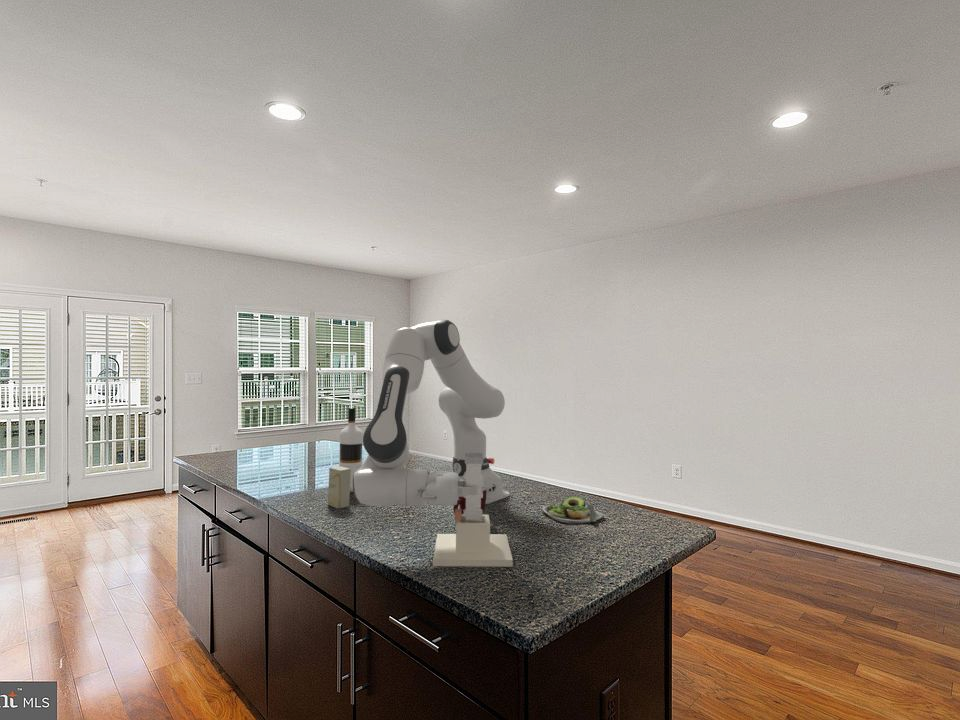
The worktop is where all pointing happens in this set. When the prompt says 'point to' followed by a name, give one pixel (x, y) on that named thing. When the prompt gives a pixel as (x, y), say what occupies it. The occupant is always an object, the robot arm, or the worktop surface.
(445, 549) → the stand
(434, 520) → the worktop surface
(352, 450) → the vodka
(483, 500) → the mug
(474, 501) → the column
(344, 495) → the skincare box
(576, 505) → the salad plate
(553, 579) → the worktop surface
